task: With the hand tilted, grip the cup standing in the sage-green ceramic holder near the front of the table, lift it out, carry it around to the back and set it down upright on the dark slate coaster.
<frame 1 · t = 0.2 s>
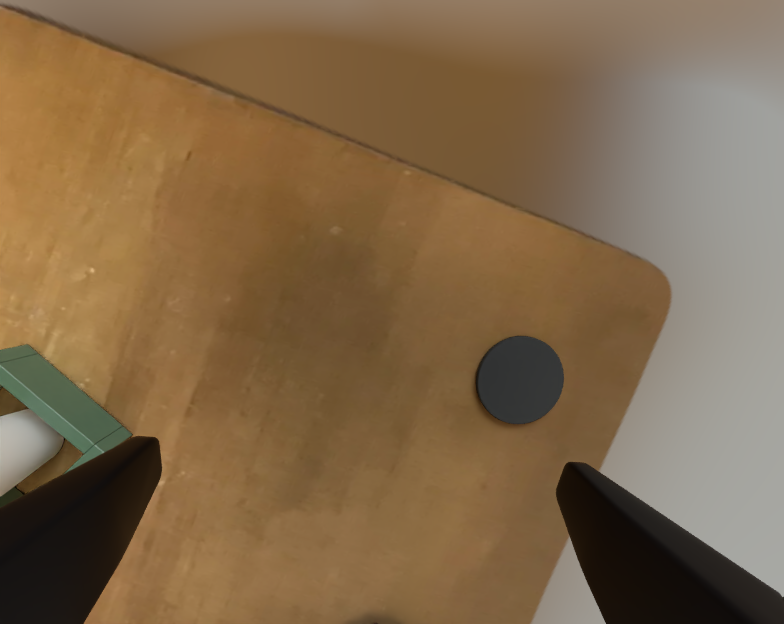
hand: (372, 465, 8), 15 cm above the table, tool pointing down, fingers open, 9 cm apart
cup: (36, 434, 22), resting in holder
coaster: (518, 379, 25), on the table
holder: (34, 435, 22), on the table
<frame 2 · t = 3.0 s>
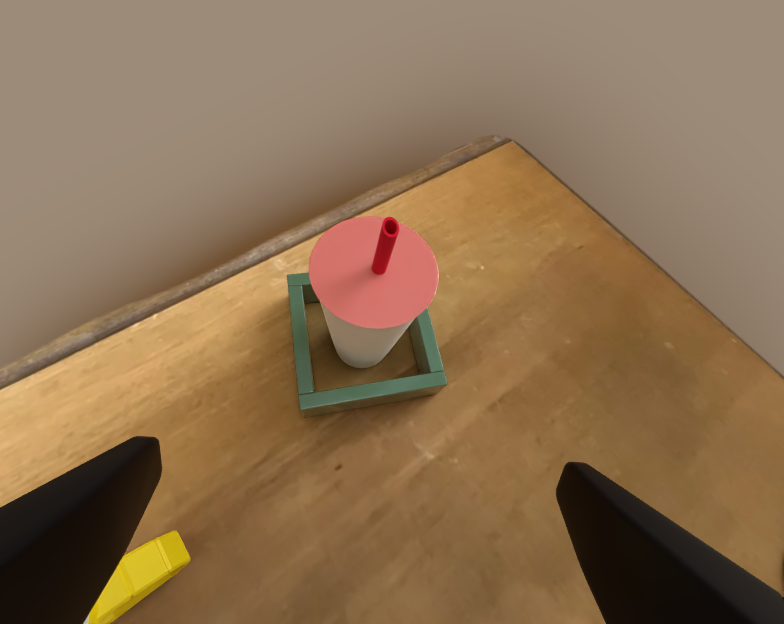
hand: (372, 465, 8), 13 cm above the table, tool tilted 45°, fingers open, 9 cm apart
cup: (361, 343, 23), resting in holder
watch: (140, 582, 17), on the table
holder: (361, 342, 23), on the table
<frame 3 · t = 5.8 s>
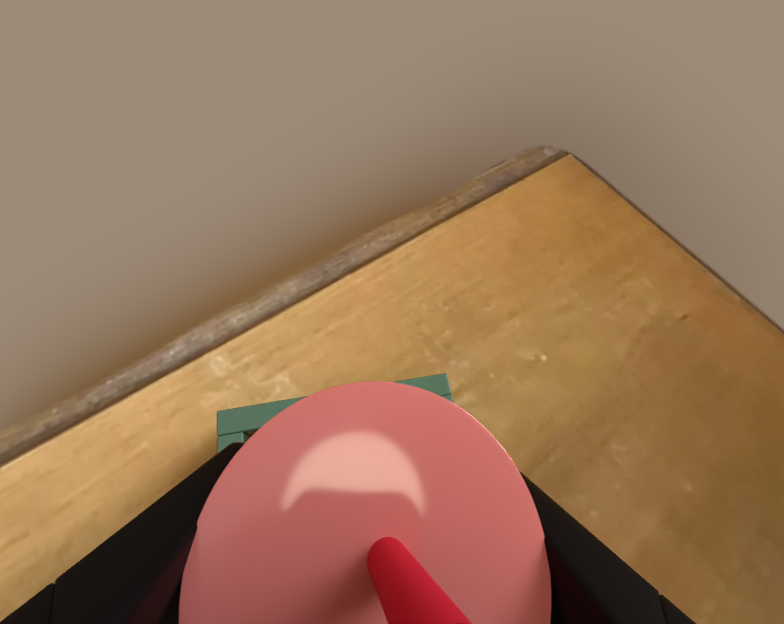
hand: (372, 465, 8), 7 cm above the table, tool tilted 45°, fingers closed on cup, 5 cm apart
cup: (353, 511, 13), resting in holder, touching gripper
holder: (353, 512, 13), on the table
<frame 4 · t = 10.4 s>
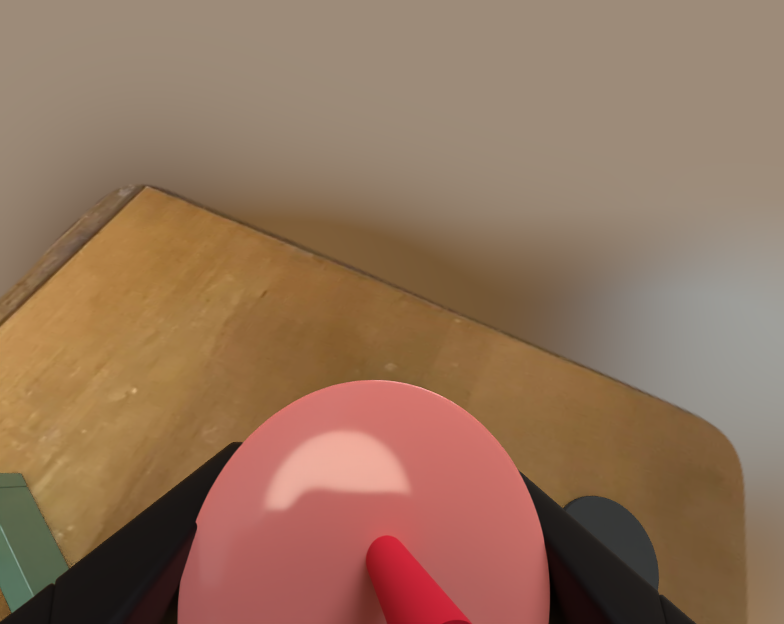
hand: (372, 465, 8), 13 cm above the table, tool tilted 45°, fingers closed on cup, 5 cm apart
cup: (352, 511, 13), point 6 cm above the table, touching gripper
coaster: (601, 557, 20), on the table
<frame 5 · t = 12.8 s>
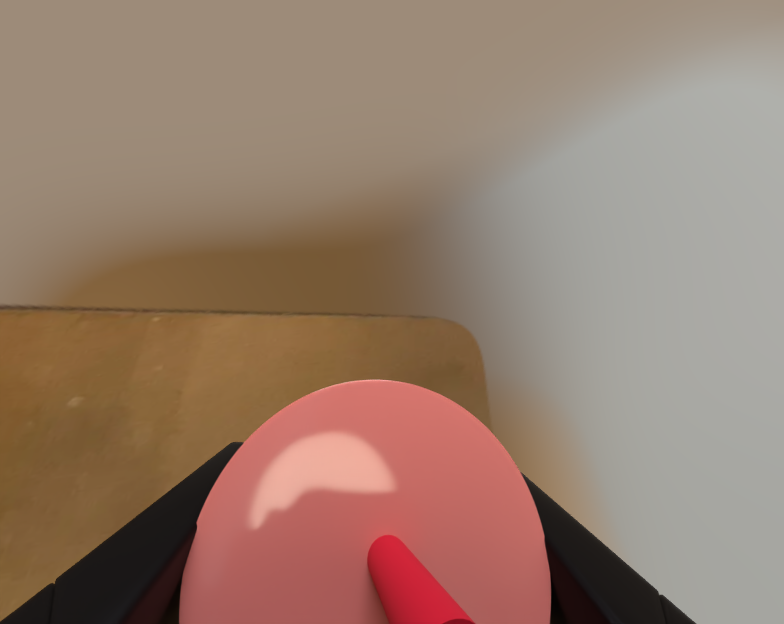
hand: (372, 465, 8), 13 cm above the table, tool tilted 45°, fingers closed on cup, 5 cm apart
cup: (353, 510, 14), point 6 cm above the table, touching gripper
when the fingers open (7 cm above the table, at t = 15.0 s): cup stays where it is, resting on coaster.
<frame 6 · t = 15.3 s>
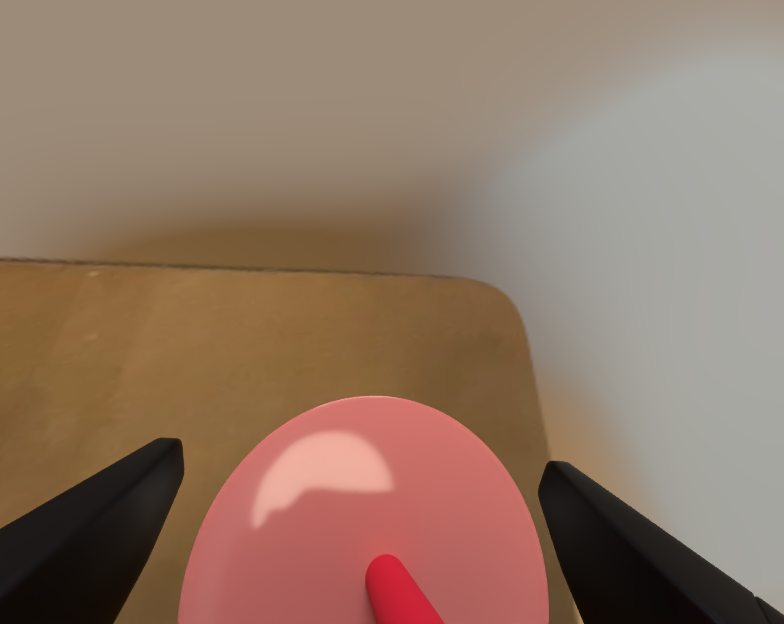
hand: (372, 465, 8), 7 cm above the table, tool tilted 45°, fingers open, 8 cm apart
cup: (351, 518, 14), resting on coaster
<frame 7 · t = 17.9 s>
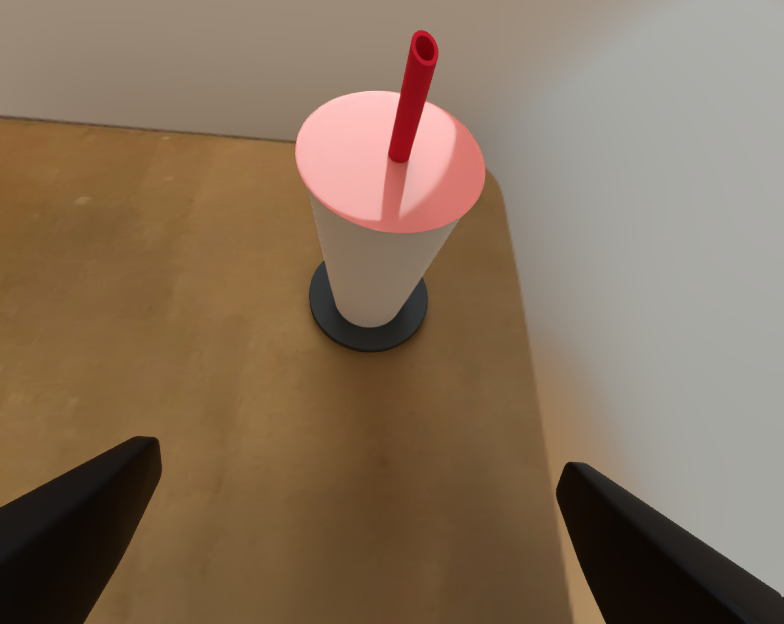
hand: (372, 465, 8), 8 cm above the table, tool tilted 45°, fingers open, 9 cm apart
cup: (368, 298, 18), resting on coaster
coaster: (369, 296, 19), on the table
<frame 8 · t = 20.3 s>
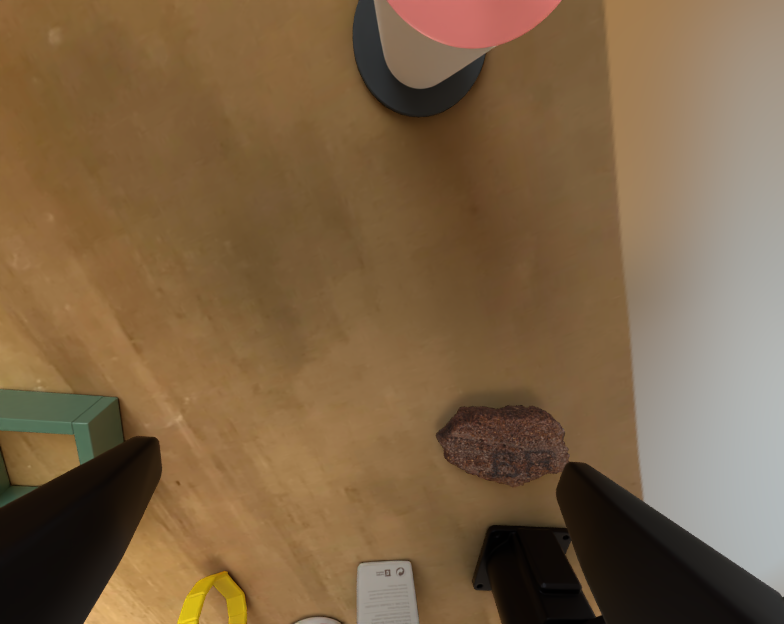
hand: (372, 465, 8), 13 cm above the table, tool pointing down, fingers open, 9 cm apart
cosmetic box: (385, 584, 29), on the table
cup: (420, 46, 16), resting on coaster
coaster: (419, 42, 16), on the table
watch: (229, 581, 28), on the table
holder: (56, 447, 22), on the table
stone: (491, 425, 24), on the table
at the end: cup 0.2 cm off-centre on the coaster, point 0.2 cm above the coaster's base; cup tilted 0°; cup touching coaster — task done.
